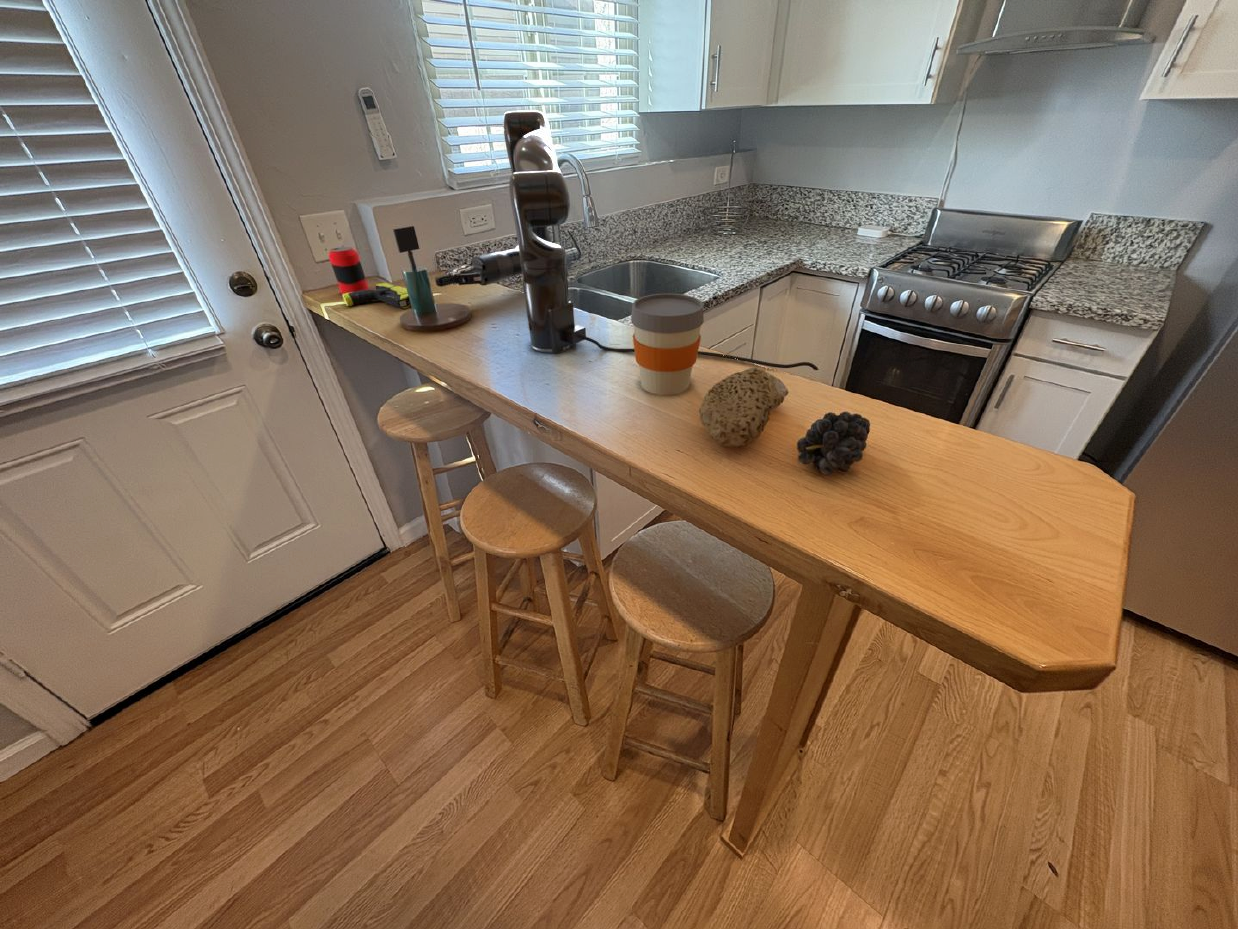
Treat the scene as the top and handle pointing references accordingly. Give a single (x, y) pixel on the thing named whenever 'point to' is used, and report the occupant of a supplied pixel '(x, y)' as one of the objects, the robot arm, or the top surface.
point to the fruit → (834, 442)
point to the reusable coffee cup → (666, 340)
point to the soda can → (348, 269)
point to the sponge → (741, 406)
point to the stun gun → (380, 296)
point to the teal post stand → (424, 293)
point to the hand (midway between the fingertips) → (437, 282)
